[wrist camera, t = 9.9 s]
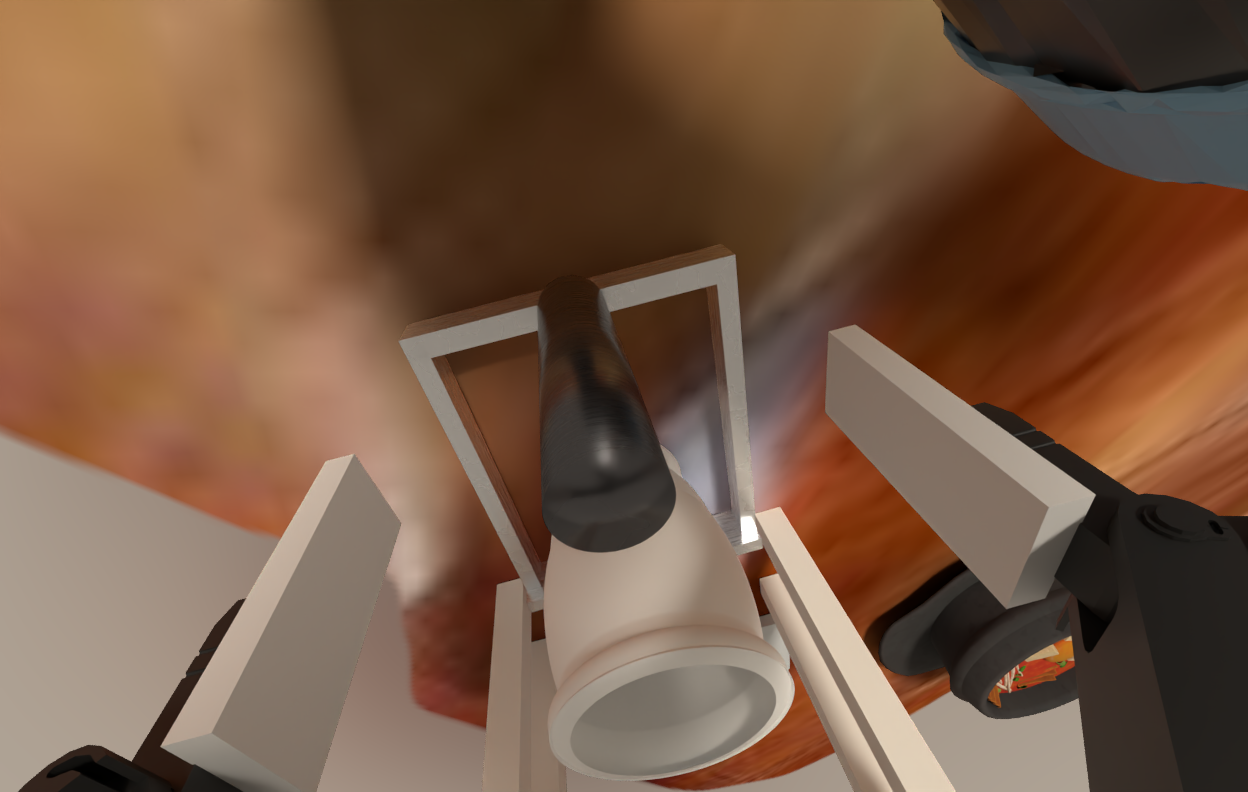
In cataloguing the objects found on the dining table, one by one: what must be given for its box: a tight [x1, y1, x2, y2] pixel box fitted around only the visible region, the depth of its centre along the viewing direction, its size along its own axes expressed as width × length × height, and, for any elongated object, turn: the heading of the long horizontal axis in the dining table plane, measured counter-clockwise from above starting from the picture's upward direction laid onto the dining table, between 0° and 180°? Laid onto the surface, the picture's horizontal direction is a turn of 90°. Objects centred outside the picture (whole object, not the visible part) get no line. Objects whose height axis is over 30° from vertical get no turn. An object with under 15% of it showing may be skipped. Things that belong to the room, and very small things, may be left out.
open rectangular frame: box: [482, 507, 956, 792], centre depth 33 cm, size 22×22×20 cm
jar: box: [544, 444, 795, 781], centre depth 26 cm, size 11×10×15 cm
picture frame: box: [399, 244, 763, 612], centre depth 22 cm, size 21×16×15 cm
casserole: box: [878, 568, 1079, 719], centre depth 44 cm, size 25×19×8 cm
